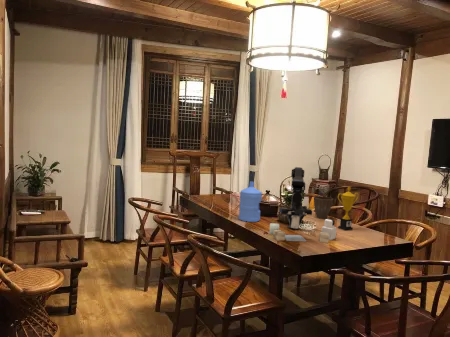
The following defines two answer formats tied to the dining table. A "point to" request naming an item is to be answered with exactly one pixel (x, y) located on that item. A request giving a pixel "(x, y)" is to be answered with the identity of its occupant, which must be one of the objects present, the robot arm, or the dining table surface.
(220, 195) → the dining table surface
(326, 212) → the plant pot
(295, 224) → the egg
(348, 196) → the trophy
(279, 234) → the beech block
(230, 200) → the dining table surface
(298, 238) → the felt mat
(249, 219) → the water jug
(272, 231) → the pale curved piece
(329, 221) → the medicine bottle
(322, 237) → the beech block
